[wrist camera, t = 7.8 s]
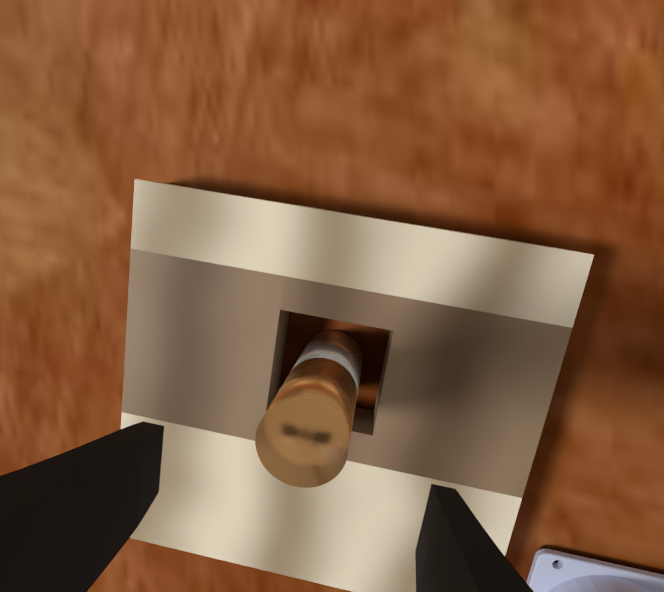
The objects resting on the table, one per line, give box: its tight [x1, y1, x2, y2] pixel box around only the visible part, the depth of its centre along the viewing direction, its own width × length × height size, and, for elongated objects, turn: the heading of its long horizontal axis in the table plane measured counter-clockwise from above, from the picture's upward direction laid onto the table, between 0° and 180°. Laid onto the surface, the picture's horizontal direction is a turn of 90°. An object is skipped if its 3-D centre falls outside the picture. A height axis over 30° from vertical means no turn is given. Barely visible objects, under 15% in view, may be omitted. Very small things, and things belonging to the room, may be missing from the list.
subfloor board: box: [121, 179, 594, 592], centre depth 20 cm, size 19×18×2 cm
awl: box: [255, 330, 363, 488], centre depth 17 cm, size 3×3×8 cm
